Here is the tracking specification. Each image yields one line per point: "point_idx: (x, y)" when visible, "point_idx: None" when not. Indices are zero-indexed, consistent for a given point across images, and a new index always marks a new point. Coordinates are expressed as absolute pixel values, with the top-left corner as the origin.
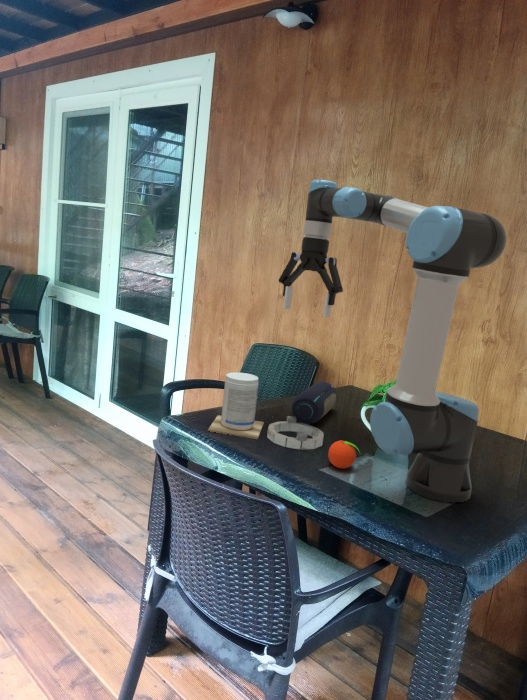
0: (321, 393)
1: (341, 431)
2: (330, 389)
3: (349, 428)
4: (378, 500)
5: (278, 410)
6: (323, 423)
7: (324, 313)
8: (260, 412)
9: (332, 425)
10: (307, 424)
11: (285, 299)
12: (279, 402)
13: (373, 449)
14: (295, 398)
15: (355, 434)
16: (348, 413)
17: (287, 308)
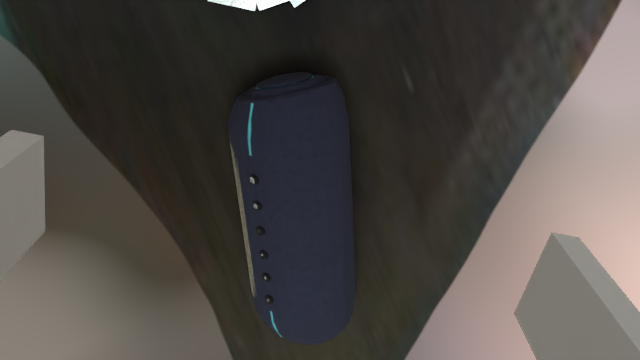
0: (258, 194)
1: (167, 109)
2: (263, 284)
3: (161, 158)
4: None
5: (415, 160)
6: None
7: (6, 148)
8: (459, 93)
9: (214, 146)
10: (244, 8)
11: (613, 301)
12: (443, 240)
13: (12, 12)
14: (337, 114)
15: (121, 115)
16: (226, 293)
17: (534, 270)
